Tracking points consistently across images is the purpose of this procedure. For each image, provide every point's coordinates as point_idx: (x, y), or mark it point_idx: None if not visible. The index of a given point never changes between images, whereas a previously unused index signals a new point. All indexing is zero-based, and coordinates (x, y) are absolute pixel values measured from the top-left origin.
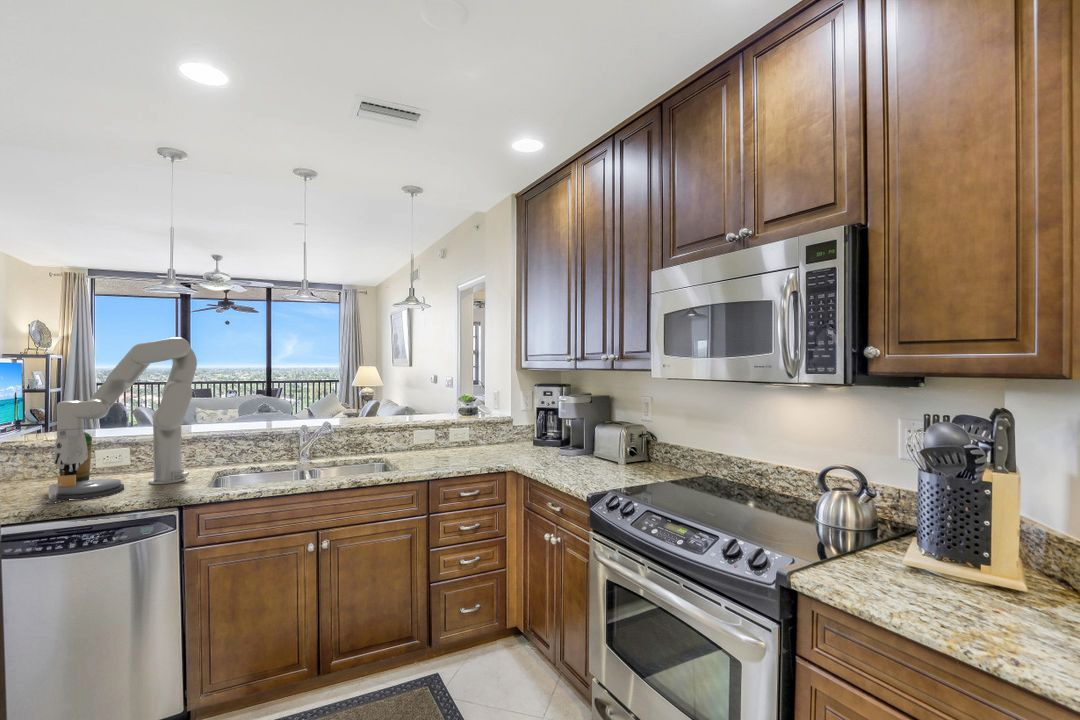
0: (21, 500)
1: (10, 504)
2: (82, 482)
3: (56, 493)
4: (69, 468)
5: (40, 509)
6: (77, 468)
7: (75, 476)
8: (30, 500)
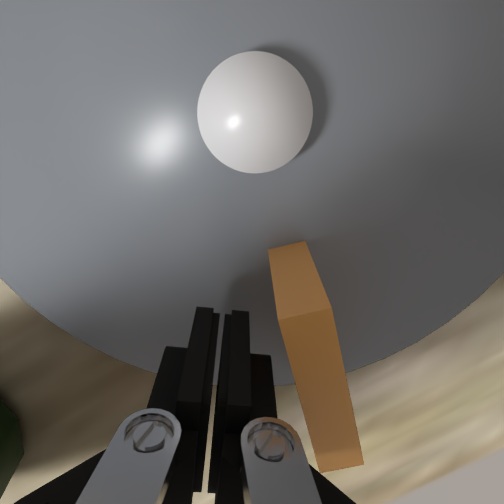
0: (389, 454)
1: (491, 446)
2: (122, 272)
3: None
4: (311, 485)
5: None
6: (125, 436)
7: (296, 301)
8: (409, 407)
